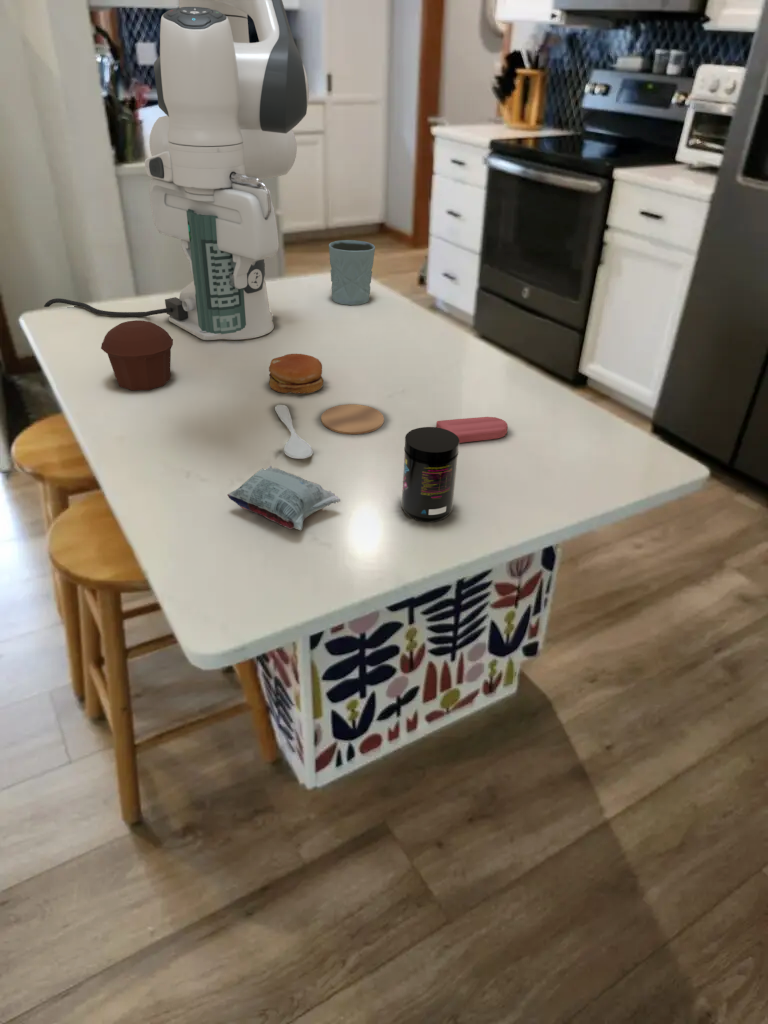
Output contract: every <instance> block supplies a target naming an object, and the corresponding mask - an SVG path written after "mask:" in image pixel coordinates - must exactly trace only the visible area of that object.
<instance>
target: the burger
mask: <svg viewBox="0 0 768 1024" xmlns="http://www.w3.org/2000/svg"><path fill="white" fill-rule="evenodd" d="M268 371H269V374H268V375H269V382H268V384H269V387H270V389H271V390H273V391H275V392H277V393H281V394H282V393H283V394H289V393H291V394H296V395H300V394H301V395H302V394H312V393H314V392H317V391H319V390H321V388H323V385H324V378H323V376H322V374H323V363H322V361H320V360H319V359H318V358H316V357H315V356H314V355H313V356H312V355H309V354H304V353H288V354H284V355H281V356H278V357H274V358H272V359H271V361H270V364H269V366H268Z"/></svg>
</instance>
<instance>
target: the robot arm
mask: <svg viewBox="0 0 768 1024" xmlns="http://www.w3.org/2000/svg"><path fill="white" fill-rule="evenodd" d="M178 6H179V7H174V8H171V9H169V10H167V11H165V12H164V13H163V14H162V15H161V18H160V29H159V56H158V57H157V58H156V60H155V61H154V62H153V73H154V79H155V87H156V96H157V105H158V107H159V109H160V110H161V111H162V112H163V113H164V114H165V115H163V116H159V117H158V118H157V119H156V120H155V122H154V123H153V125H152V127H151V131H150V134H149V142H148V143H149V151H150V155H151V156H150V157H147V158H146V159H145V161H144V168H145V173H146V175H147V176H148V177H149V178H151V179H150V180H149V185H148V191H149V202H150V209H151V210H150V211H151V215H152V216H151V217H152V221H153V224H154V227H155V228H156V230H157V231H158V233H159V234H160V235H164V236H168V237H171V238H174V239H178V240H180V247H181V250H182V251H183V253H184V255H185V257H186V259H187V261H188V263H189V272H190V274H191V275H193V269H192V259H191V250H190V240H189V231H188V222H187V212H186V211H188V209H191V210H193V211H194V213H197V214H201V215H213V216H218V218H216V232H217V245H218V249H219V250H221V251H224V252H228V253H231V254H232V255H233V262H235V263H236V266H235V270H234V272H233V273H229V279H230V286H232V287H235V288H238V289H241V288H244V303H245V317H246V326H245V328H243V329H241V331H236V332H235V333H227V334H221V333H219V334H214V333H210V332H209V333H207V332H206V331H202V330H201V329H200V327H199V325H198V316H197V306H196V297H195V287H194V279H193V280H192V281H190V282H189V283H188V284H187V285H186V286H184V288H182V289H181V291H180V293H179V298H178V297H177V296H174V297H170V298H166V299H164V304H165V308H159V309H154V310H148V311H111V310H110V311H109V310H102V309H98V308H96V307H93V306H91V305H90V304H87V303H84V302H80V301H75V300H70V299H67V298H59V297H58V298H56V297H55V298H51V299H50V300H48V301H46V302H45V304H44V305H43V307H44V308H49V307H51V305H54V304H64V305H65V304H66V305H70V306H74V307H79V308H84V309H86V310H88V311H90V312H92V313H94V314H97V315H100V316H108V317H124V318H126V317H128V318H129V317H133V318H134V317H150V316H154V315H161V314H166V315H168V322H170V323H172V324H173V325H175V326H177V327H179V328H181V329H183V330H184V331H186V332H188V333H190V334H191V335H194V336H195V337H197V338H199V339H200V340H202V341H216V340H217V341H218V340H231V341H232V340H233V341H234V340H235V341H236V340H237V341H238V340H249V339H255V338H259V337H263V336H265V335H267V334H270V333H271V332H272V331H273V330H274V328H275V326H274V322H273V320H274V314H273V312H272V311H271V308H270V301H269V294H268V289H267V288H268V287H267V283H266V281H265V276H266V262H265V260H267V259H270V258H273V257H275V256H276V254H277V253H278V251H279V249H280V241H279V232H278V231H279V230H278V224H277V218H276V213H275V208H274V203H273V201H272V194H271V191H270V189H269V188H268V187H267V185H266V184H265V183H264V182H263V180H268V179H274V178H277V177H282V176H285V175H287V174H288V173H289V172H290V171H291V169H292V167H293V166H294V163H295V161H296V159H297V153H298V152H297V150H298V149H297V148H298V146H297V138H296V135H295V133H294V130H293V129H294V128H295V127H296V126H297V125H298V124H299V123H300V122H302V120H303V119H304V118H305V117H306V116H307V111H308V107H309V106H308V105H309V98H310V91H309V90H310V89H309V80H308V74H307V72H306V68H305V64H304V63H303V59H302V57H301V53H300V52H299V49H298V47H297V45H296V42H295V40H294V37H293V33H292V30H291V26H290V23H289V19H288V16H287V12H286V9H285V6H284V2H283V0H178ZM248 16H249V17H250V18H251V19H252V22H253V24H254V27H255V31H256V34H257V38H258V41H256V42H250V34H249V24H248V23H249V21H248V20H249V19H248Z"/></svg>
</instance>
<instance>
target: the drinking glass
mask: <svg viewBox="0 0 768 1024" xmlns="http://www.w3.org/2000/svg"><path fill="white" fill-rule="evenodd" d="M375 252H376V246H375V245H374V244H373V243H371V242H367V241H363V240H354V239H342V240H335V241H332V242H330V243H328V253H329V254H328V255H329V265H330V282H331V289H330V290H331V299H332V301H333V302H334V303H336V304H339V305H344V306H359V305H363V304H366V303H368V302H369V301H370V294H371V283H372V275H373V271H372V269H373V267H374V260H375Z"/></svg>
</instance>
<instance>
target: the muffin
mask: <svg viewBox="0 0 768 1024" xmlns="http://www.w3.org/2000/svg"><path fill="white" fill-rule="evenodd" d="M173 345H174V338H173V337H172V336H171V335H170V333H169V332H168V331H167V330H166V329H164V328H163V327H161V326H160V325H158V324H156V323H154V322H152V321H149V320H142V319H141V320H139V319H137V320H136V319H135V320H127V321H123V322H120V323H119V324H117V325H115V326H114V327H112V328H110V329H109V330H108V331H107V332H106V334H105V336H104V337H103V340H102V342H101V345H100V350H102V351H103V352H104V353H106V355H107V357H108V361H109V362H110V366H111V369H112V371H113V374H114V378H115V379H116V382H117V384H118V386H119V388H123V389H127V390H130V391H151V390H153V389H157V388H160V387H164V386H165V385H166V384H167V383H168V382H169V381H170V380H171V364H172V363H171V356H172V348H173Z"/></svg>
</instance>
